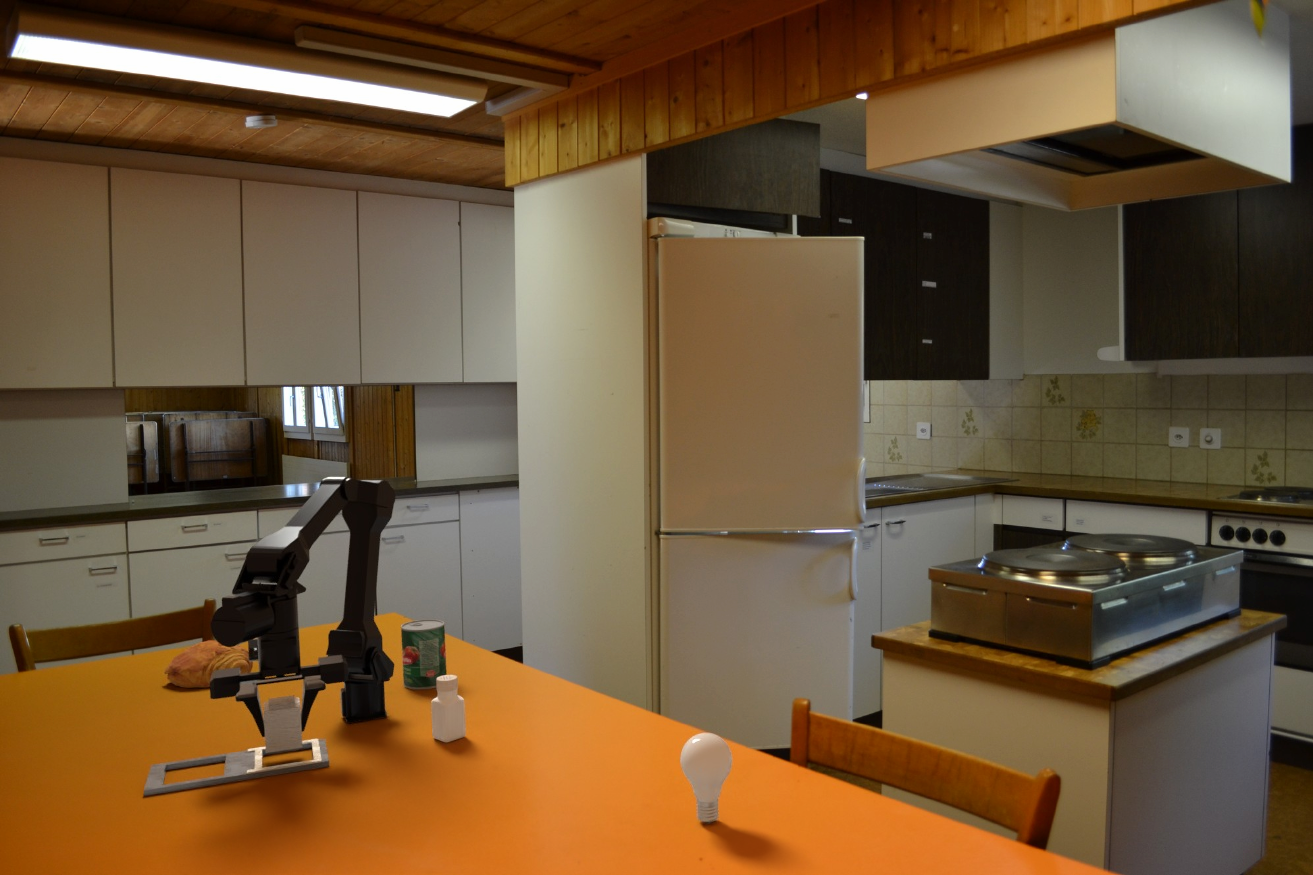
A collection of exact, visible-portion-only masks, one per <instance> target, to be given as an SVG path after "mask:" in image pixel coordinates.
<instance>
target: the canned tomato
mask: <svg viewBox="0 0 1313 875" xmlns="http://www.w3.org/2000/svg"><path fill="white" fill-rule="evenodd" d="M445 625H446V624H445V622H444V621H443V620H440V619H418V620H412V621H407V622H404V623H403V624H401V625H400V630H401V633H400V634H401V651H402V653H401V654H402V655H401V656H402V672H403V674H402V677H403V687H405V688H406V689H408V690H409V689H410V690H431V689H437V685H436V679H437V677H440V676H443V675H448V674H447V656H446V655H447V653H446V635H445V634H446V632H445V631H446V630H445Z"/></svg>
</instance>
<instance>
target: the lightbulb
mask: <svg viewBox="0 0 1313 875" xmlns="http://www.w3.org/2000/svg"><path fill="white" fill-rule="evenodd" d="M679 760H680V766H681V770H682V773H683V774H684V776H685V778H686V779H687V781H688V782H689V784H690V785H691V786H692V791H693V795H694V797H695V799H696V818H697V820H698V821H700V822H702V823H704V824H712V823H714V822H715V821H717V820H718V819H719V812H720V811H719V810H720V809H719V808H720V807H719V798H720V796H721V794H722V792H721V791H722V787H723V785H724V782H725V781H726V780H727V778H728V776H729V775H730V773H731V770H732V767H733V755H732V751H731V749H730V746H729V744H728V743H727V742H726V741H725V740H724V739H723V738H722V737H720V736H719V735H718V734H715V733H712V732H702V733H696V734H695V735H693V736H691V737H690V738H688V740H687V741H686V742H685V743H684V745H683V747H682V750H681V753H680V759H679Z"/></svg>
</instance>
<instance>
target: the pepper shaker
mask: <svg viewBox="0 0 1313 875" xmlns="http://www.w3.org/2000/svg"><path fill="white" fill-rule="evenodd" d="M458 681H459V680H458V676H457V675H455V674H447V675H443V676H440V677H437V679H436V685H437V687H436V691H437V696H436V697H435V698H433V699H432V700H431V702H430V704H431V705H430V707H431V708H430V709H431V710H430V711H431V730H432V731H431V733H432V734H431V735H432V737H433V739H435V740H438V741H441V742H444V743H450V742H452V741H455V740H458V739H462V738H465V736H466V734H467V732H466V731H467V730H466V708H465V707H466V706H465V705H466V704H465V703H466V702H465V699H464V697H462V696H461V695H458V689H459V683H458Z"/></svg>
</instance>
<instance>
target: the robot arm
mask: <svg viewBox="0 0 1313 875" xmlns="http://www.w3.org/2000/svg"><path fill="white" fill-rule="evenodd" d="M395 503H396V492H395V489H394V488H393V487H392V486H391V483H389V481H387V480H385V479H384V480H382V479H379V480H378V479H377V480H375V479H374V480H373V479H372V480H371V479H370V480H368V479H365V480H364V479H363V480H362V479H361V480H359V479H357V478H356V479H355V478H352V477H350V476H327V477H325V478H323V479H322V480H321V481H320V482H319V486H318V488H317V489H316V490H315V492H314V493H313V494H312V495H311V496H310V497H309V498H308V500H307V501H306V502H305V503H304V504H303V505H302V506H301V507H300V508H299V509H298V511H297V512H296V513H295V514H294V515H293V516H292V517H291V518H290V519H289V521H288V522H287V523H286V524H285V525H284V526H283V527H281V529H279V530H277V531H275V532H272V533H270V534H268V535H265V536H264V537H263V538H262V539H259V541H257V542H256V543H255V544H254V545H252V546H251V547H250V548H249V550H248V552H247V553H246V556H245V559H244V562H243V565H242V567H241V570H240V571H239V574H238V577H237V579H236V581H235V583H234V586H233V587H232V591H231V594H232V595H227V596H223V597H222V598H221V606H220V607H219V608H217V609H216V610H215V611H214V613H213V615H212V618H211V621H210V632H211V633H212V634H211V635H212V636H213V638H214V639H215V641H218V643H220V644H221V645H223V646H226V647H233V646H236V645H238V646H240V645H241V644H245V643H247V644H248V645H247V647H248V649H247V651H248V653H249V661H250V662H253V663H254V662H258V671H255V672H254V671H253V672H251V673H246V674H241V673H240V667H239V668H230V669H222V670H215V671H214V672H213V674H212V675H211V679H210V687H209V695H210V696H209V697H210V699H211V700H218V699H226V698H235V699H234V700H235V702H238V703H239V702H240V703H241V702H243V704H244V706H245V707H246V708H247V709H248V711H249V713H250V714H251V716H252V717H253V720H254V722H255V724H256V726H257V728H258V731H259V733H260V735H261V737H262V738H265V729H264V712H263V709H262V704H261V700H260V692H259V686H262V685H270V684H279V683H286V682H292V681H301V680H303V681H302V699H301V700H302V701H301V727H302V733H303V732H305V730H306V726H307V724H308V720H309V717H310V714H311V710H312V707H313V705H314V702H315V700H316V698H317V696H318V694H319V692H321V691H325V690H327V686H326V685H332V684H339V683H343V687H342V688H340V691H339V692H340V710H341V711H340V712H341V716H342V717H343V718H345V721H346V724H350V723H351V724H352V723H357V722H364V721H365V722H366V721H370V720H372V721H373V720H378V719H385V718H387V717H388V713H387V710H386V700H385V699H386V696H385V694H386V692H385V683H386V682H390V681H391V679H392V677H393V676H394V673H395V662H393V660H392V659H391V657H389V656H388V655H387V653H386V652H385V651H384V650H383V647H384V645H383V635H382V633H381V630H380V629H379V627H378V625H377V623H376V621H375V610H376V598H377V586H378V585H377V584H378V574H379V573H378V572H379V559H380V548H381V547H380V546H381V536H382V532H383V531H384V529H385V528H386V526H387V525H388V524H389V523H390V521H391V519H392V517H393V511H394V505H395ZM340 512H341V517H342V519H343V520H344V523H345V524H346V527H347V528H348V530H349V542H348V555H347V564H346V578H345V579H346V580H345V587H344V588H345V592H344V602H343V613H342V614H343V615H342V619H341V621H340V623H339V624H338V625H337V627H336V629H330V630H329V632H328V635H327V636H328V637H327V638H328V639H327V640H328V641H327V642H328V643H327V644H328V645H327V650H326V651H325V652H326V653H325V655H326V656H322V657H320V656H319V657H318V659H317V663H318V664H317V663H316V664H311V665H303V666H301V665H302V664H301V662H302V661H301V648H300V646H301V645H300V643H301V642H300V628H299V627H300V626H299V625H300V624H299V610H298V608H299V606H298V595H300V594H303V593H305V592H306V591H307V587H306V586H304V585H303V584H301V583H300V582H299V581H298V580H299V579H300V577H301V576H302V574H303V572H304V570H305V569H306V568H307V566H308V564H309V562H310V550H311V548H312V546H313V545H314V543H315V542H316V541H317V540H318V539H319V538H320V536H322V534H323V533H324V532H325V530H327V528H328V527H329V526H330V525H331V523H332V522H333V521H334V519H335V518H336V517H337V516H338V515H339V513H340Z"/></svg>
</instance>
